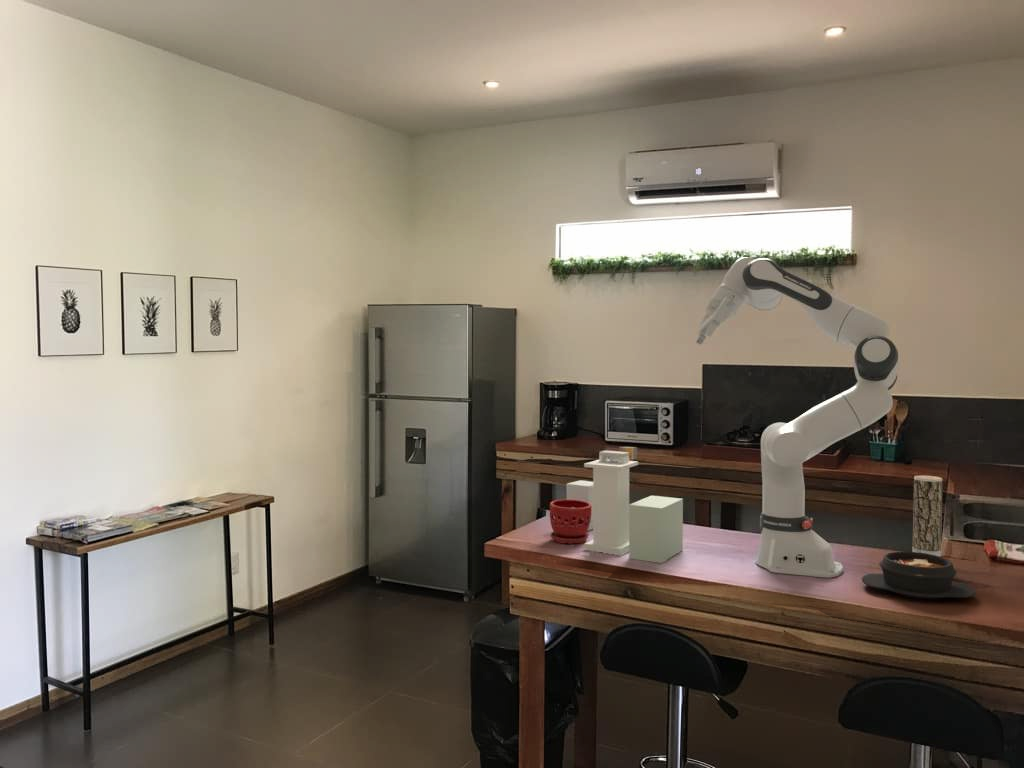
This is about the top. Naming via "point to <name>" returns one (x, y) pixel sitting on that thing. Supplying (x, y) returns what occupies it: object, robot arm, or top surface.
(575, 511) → the plant pot
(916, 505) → the bark pattern canister
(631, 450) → the brown block with handle
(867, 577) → the casserole
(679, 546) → the pale green box
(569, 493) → the supplement box
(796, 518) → the robot arm
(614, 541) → the tall stand
